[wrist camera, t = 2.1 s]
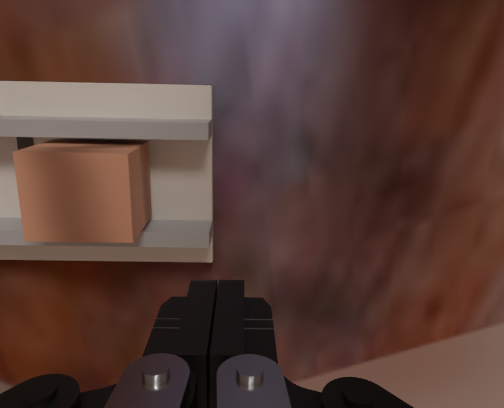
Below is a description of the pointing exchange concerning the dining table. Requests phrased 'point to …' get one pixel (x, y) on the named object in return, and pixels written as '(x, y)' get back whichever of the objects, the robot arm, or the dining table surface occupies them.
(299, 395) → the robot arm
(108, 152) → the block
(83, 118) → the chute
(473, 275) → the dining table surface
